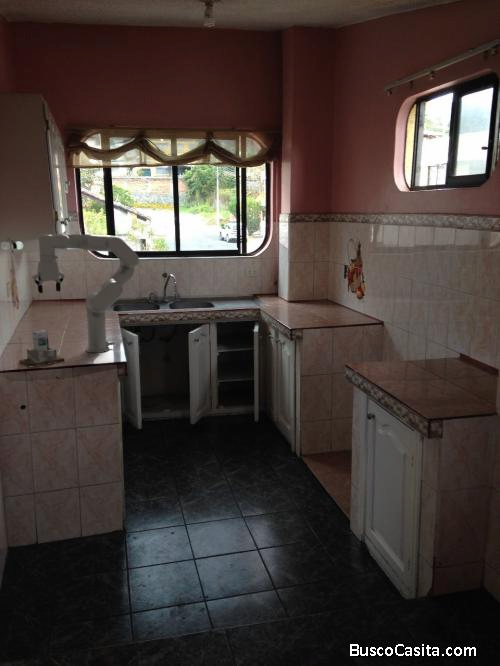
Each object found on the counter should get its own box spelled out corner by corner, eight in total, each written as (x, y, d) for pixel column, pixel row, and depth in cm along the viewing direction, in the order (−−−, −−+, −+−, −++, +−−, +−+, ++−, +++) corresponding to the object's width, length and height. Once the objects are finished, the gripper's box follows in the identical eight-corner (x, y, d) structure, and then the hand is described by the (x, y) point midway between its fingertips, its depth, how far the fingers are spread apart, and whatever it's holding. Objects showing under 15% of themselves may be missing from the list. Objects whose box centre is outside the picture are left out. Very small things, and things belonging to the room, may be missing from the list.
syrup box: (38, 361, 296) (36, 332, 293) (34, 358, 300) (32, 330, 297) (49, 359, 299) (48, 331, 296) (45, 357, 304) (43, 329, 301)
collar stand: (53, 357, 310) (52, 344, 309) (64, 361, 302) (63, 348, 301) (19, 362, 298) (18, 350, 296) (30, 367, 290) (29, 354, 288)
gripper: (59, 257, 315) (61, 289, 318) (28, 259, 303) (30, 292, 306) (66, 258, 310) (68, 291, 313) (35, 260, 298) (37, 294, 301)
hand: (49, 291), depth 310 cm, fingers open, 9 cm apart
